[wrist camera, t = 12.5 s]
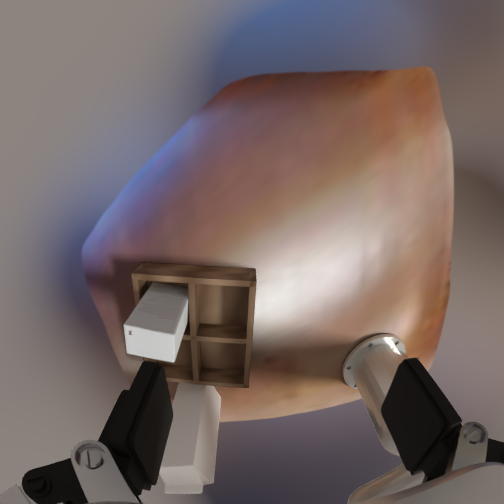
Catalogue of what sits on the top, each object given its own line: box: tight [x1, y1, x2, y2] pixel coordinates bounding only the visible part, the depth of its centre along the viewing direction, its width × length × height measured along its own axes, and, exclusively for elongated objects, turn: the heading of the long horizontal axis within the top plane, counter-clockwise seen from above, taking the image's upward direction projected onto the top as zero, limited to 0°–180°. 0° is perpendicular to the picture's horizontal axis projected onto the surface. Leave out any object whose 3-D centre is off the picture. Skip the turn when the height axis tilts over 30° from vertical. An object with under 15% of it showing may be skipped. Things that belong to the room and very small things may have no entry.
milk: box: [159, 383, 221, 494], centre depth 36 cm, size 6×6×22 cm
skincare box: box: [123, 282, 189, 363], centre depth 34 cm, size 6×4×12 cm
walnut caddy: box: [132, 262, 256, 388], centre depth 40 cm, size 16×18×4 cm
